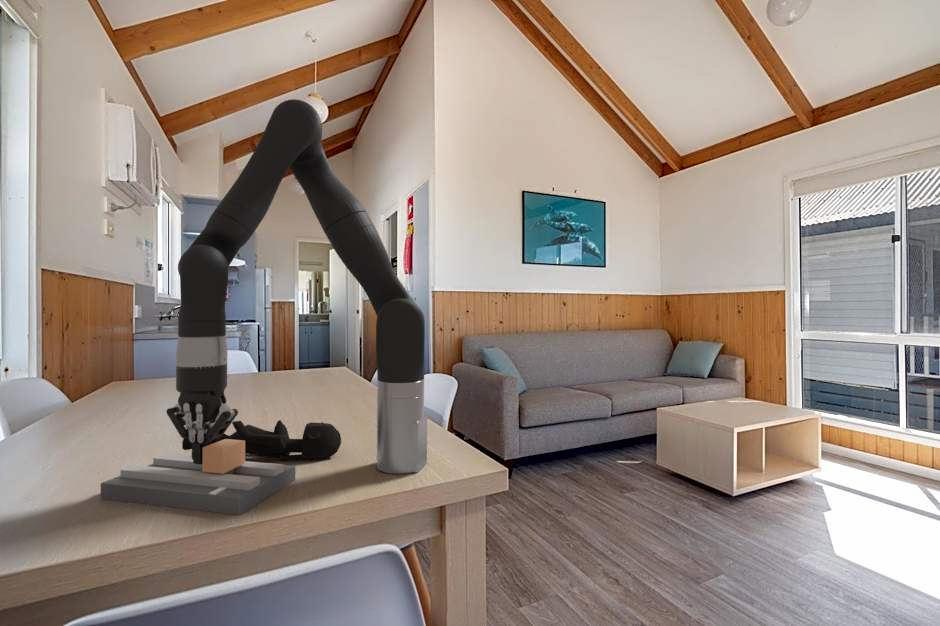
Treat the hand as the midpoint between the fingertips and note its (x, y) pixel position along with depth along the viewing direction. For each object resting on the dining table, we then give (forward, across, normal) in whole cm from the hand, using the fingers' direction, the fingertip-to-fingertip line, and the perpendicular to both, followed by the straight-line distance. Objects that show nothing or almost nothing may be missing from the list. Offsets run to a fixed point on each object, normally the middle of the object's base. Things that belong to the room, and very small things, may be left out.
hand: (201, 462), depth 75 cm
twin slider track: (+4, 0, 0) cm, 4 cm away
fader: (+2, -5, 0) cm, 5 cm away
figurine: (+5, 0, -16) cm, 17 cm away
